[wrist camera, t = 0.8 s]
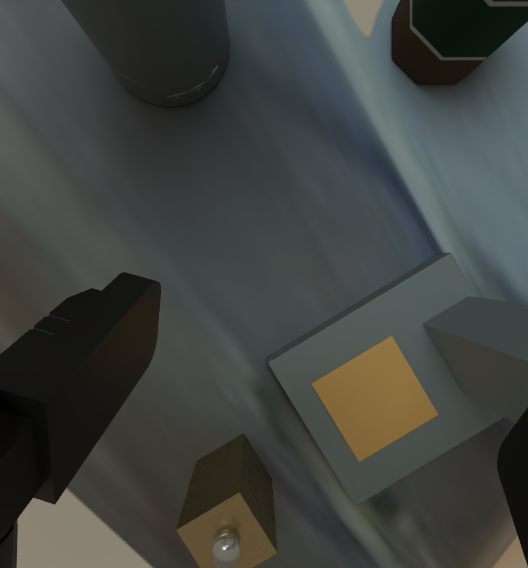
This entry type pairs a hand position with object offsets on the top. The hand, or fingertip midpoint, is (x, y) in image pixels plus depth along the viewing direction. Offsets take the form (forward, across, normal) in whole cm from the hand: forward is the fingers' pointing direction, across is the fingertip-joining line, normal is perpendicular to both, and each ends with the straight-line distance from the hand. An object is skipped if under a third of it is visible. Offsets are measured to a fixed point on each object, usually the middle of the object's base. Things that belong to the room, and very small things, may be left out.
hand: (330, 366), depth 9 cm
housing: (+15, +2, +25) cm, 29 cm away
